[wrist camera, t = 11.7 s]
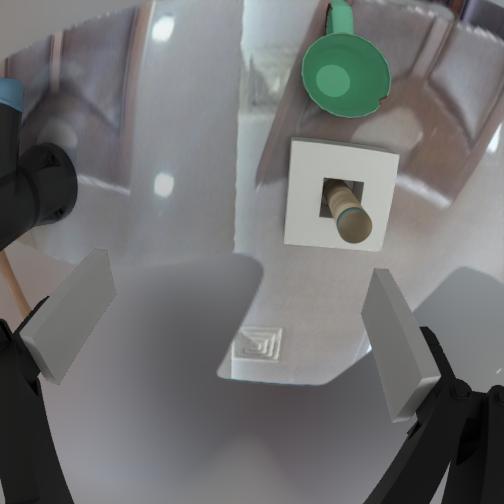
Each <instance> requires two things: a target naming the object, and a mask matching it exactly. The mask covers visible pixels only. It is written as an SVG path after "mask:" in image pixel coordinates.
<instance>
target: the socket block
mask: <svg viewBox="0 0 504 504" xmlns="http://www.w3.org/2000/svg"><path fill="white" fill-rule="evenodd" d="M398 161H399V154H397V153H395V152H393V151H391V150H389V149H385V148H380V147H374V146H367V145H361V144H354V143H347V142H339V141H331V140H322V139H313V138H302V137H291V144H290V159H289V173H288V186H287V198H286V211H285V222H284V244H292V245H304V246H317V247H329V248H341V249H353V250H365V251H376V252H381V248H382V244H383V240H384V235H385V231H386V226H387V222H388V217H389V212H390V207H391V202H392V197H393V191H394V186H395V180H396V174H397V168H398ZM324 177H325V178H334V179H343V180H351V181H355V183H354V190H353V194H354V196H355V197H356V199H357V200H358V202H359V203H360V204H361V206H362V207H363V209H364V210H365V212H366V213H367V214H368V215H369V217H370V218H371V221H372V231H371V233H370V235H369V236H368V238H367V239H365V240H364V241H362V242H360V243H356V244H352V243H348V242H346V241H344V240H343V239H342V238H341V237H340V235H339V233H338V230H337V226H336V223H335V221H334V218H333V216H332V213H331V211H330V208H329V206H323V205H321V197H322V188H323V179H324Z"/></svg>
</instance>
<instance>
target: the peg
mask: <svg viewBox="0 0 504 504" xmlns="http://www.w3.org/2000/svg"><path fill="white" fill-rule="evenodd" d="M323 193H324V196H325V198H326V201H327V203H328V206H329V208H330V211H331V213H332V216H333V218H334V221H335V223H336V226H337V230H338V233H339V235H340V237H341V238H342V239H343V240H344V241H346V242H348V243H352V244H356V243H360V242H362V241H364V240H365V239H367V238H368V236H369V235H370V233H371V231H372V221H371V218H370V217H369V215H368V214H367V213H366V212H365V210H364V209H363V207H362V206H361V204H360V203H359V202H358V200H357V199H356V197H355V196H354V194H353V193H352V192H351V190H350V189H349V187H348V186H347V185H346V183H345V182H344V181H343V180H342V179H334V178H330V179H328V180H327V181H326V182H325V183H324V185H323Z"/></svg>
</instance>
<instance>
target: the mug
mask: <svg viewBox="0 0 504 504" xmlns="http://www.w3.org/2000/svg"><path fill="white" fill-rule="evenodd" d="M301 76H302V80H303V85H304V88H305V89H306V91H307V93H308V94H309V96H310V98H311V99H312V100H313V101H314V102H315V103H316V104H317V105H318V106H319V107H320V108H321V109H323V110H325V111H327V112H329V113H331V114H333V115H335V116H340V117H345V118H357V117H364V116H366V115H368V114H371V113H373V112H375V111H376V110H377V109H378V108H379V107H380V106H381V103H380V100H381V99H384V98H386V97H387V96H388V94H389V92H390V87H391V74H390V69H389V65H388V63H387V61H386V59H385V57H384V56H383V54H382V52H381V51H380V50H379V49H378V48H377V47H376V46H375V45H374V44H373V43H371V42H370V41H368V40H366V39H364V38H363V37H361V36H359V35H355V34H354V26H353V14H352V8H351V7H350V5H349V4H347V3H346V2H344V1H342V0H333V1H331V2H330V3H329V4H328V8H327V11H326V25H325V36H323V37H321V38H318V39H317V40H316V41H315V42H314V43H313V44H312V45H311V46H310V47H309V48H308V50H307V52H306V54H305V56H304V58H303V60H302V67H301Z"/></svg>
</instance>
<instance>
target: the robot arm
mask: <svg viewBox="0 0 504 504" xmlns="http://www.w3.org/2000/svg"><path fill="white" fill-rule="evenodd" d="M23 96H24V86H23V84H22V82H21V81H19V80H17V79H10V78H0V251H2V250H3V249H4V248H6V247H7V246H8V245H9V244H11V243H12V242H13V241H15V240H16V239H17V238H19V237H20V236H21V235H23V234H24V233H25V232H27V231H28V230H30V229H31V228H32V227H35V226H41V225H47V224H52V223H56V222H58V221H59V220H61V219H62V218H64V217H65V216H67V215H68V214H69V213H70V212H71V210H72V208H73V206H74V204H75V201H76V197H77V179H76V174H75V171H74V168H73V165H72V163H71V161H70V159H69V157H68V156H67V155H66V153H65V152H64V151H63V150H62V149H61V148H59V147H58V146H56V145H54V144H51V143H42V144H39V145H35V146H33V147H31V148H29V149H28V150H27V151H25V152H24V153H23V154H22V155H21V156H20V157H19V140H20V128H21V118H22V113H23V108H22V107H23ZM115 296H116V290H115V286H114V282H113V277H112V273H111V268H110V264H109V259H108V254H107V250H103V249H94V250H93V251H92V252H91V253H90V254H89V255H88V256H87V257H86V258H85V259H84V260H83V261H82V262H81V263H80V264H79V265H78V266H77V267H76V268H75V269H74V271H73V272H72V273H71V274H70V275H69V276H68V277H67V278H66V279H65V280H64V281H63V283H62V284H61V285H60V286H59V287H58V288H57V289H56V290H55V291H54V292H53V293H52V295H51V296H47V297H46V298H44V299H43V300H41V301H40V302H39V303H38V304H37V305H36V307H35V308H34V310H32V311H31V312H30V313H29V316H27V317H26V318H25V319H24V321H23V322H22V323H21V324H20V325H19V327H18V328H17V329H16V330H15V332H14V333H13V334H12V332H11V330H10V328H9V326H8V324H7V322H6V321H5V320H4V319H0V479H1V484H2V488H3V492H4V496H5V504H74V502H73V499H72V497H71V494H70V492H69V489H68V486H67V484H66V481H65V478H64V475H63V473H62V469H61V466H60V463H59V460H58V457H57V454H56V450H55V447H54V443H53V440H52V437H51V432H50V428H49V424H48V420H47V416H46V411H45V406H44V401H43V396H42V390H41V385H40V381H39V379H38V377H37V376H38V375H39V373H40V372H41V373H42V375H43V376H44V378H45V379H46V381H49V382H51V383H54V384H57V385H60V383H61V381H62V379H63V378H64V376H65V374H66V372H67V371H68V369H69V367H70V366H71V364H72V362H73V361H74V359H75V357H76V355H77V354H78V352H79V351H80V349H81V348H82V346H83V344H84V343H85V341H86V340H87V338H88V336H89V335H90V333H91V332H92V330H93V329H94V327H95V325H96V324H97V322H98V321H99V319H100V318H101V316H102V315H103V313H104V312H105V310H106V309H107V307H108V306H109V304H110V303H111V301H112V300H113V298H114V297H115ZM361 315H362V318H363V321H364V324H365V328H366V331H367V334H368V337H369V340H370V344H371V347H372V350H373V354H374V357H375V361H376V364H377V367H378V371H379V375H380V378H381V382H382V386H383V389H384V393H385V397H386V401H387V404H388V409H389V413H390V417H391V421H392V423H393V422H400V421H407V420H410V418H411V417H412V416H413V415H414V413H415V412H416V415H417V418H418V420H417V422H416V423H415V424H414V425H413V426H412V427H411V429H410V430H409V431H408V432H407V434H408V437H407V438H406V440H405V442H404V444H403V445H402V447H401V449H400V450H399V452H398V454H397V456H396V457H395V459H394V460H393V462H392V463H391V465H390V467H389V468H388V469H387V471H386V472H385V474H384V475H383V477H382V479H381V480H380V481H379V483H378V484H377V486H376V487H375V488H374V490H373V491H372V493H371V494H370V495H369V497H368V498H367V499H366V501H365V502H364V503H363V504H429V503H430V501H431V500H432V498H433V496H434V494H435V492H436V490H437V488H438V486H439V484H440V482H441V480H442V478H443V476H444V474H445V472H446V470H447V467H448V465H449V463H450V467H449V472H448V477H447V482H446V486H445V490H444V495H443V498H442V503H441V504H504V387H503V386H501V385H495V386H492V387H491V389H490V390H489V391H488V392H487V393H482V392H475V391H472V389H471V388H470V386H469V385H468V384H467V383H466V382H464V381H463V380H460V379H456V377H455V375H454V373H453V371H452V368H451V366H450V364H449V362H448V360H447V358H446V356H445V354H444V353H443V349H442V347H441V346H440V345H439V344H440V343H439V341H438V340H437V338H436V336H435V334H434V333H433V332H432V331H431V330H430V329H429V328H428V327H419V326H418V324H417V322H416V320H415V318H414V316H413V314H412V312H411V310H410V308H409V306H408V304H407V302H406V300H405V299H404V297H403V295H402V293H401V291H400V289H399V287H398V286H397V284H396V282H395V280H394V278H393V276H392V275H391V273H390V271H389V269H378V268H374V270H373V274H372V278H371V281H370V285H369V288H368V292H367V295H366V299H365V302H364V305H363V309H362V312H361ZM450 461H451V462H450Z"/></svg>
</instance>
